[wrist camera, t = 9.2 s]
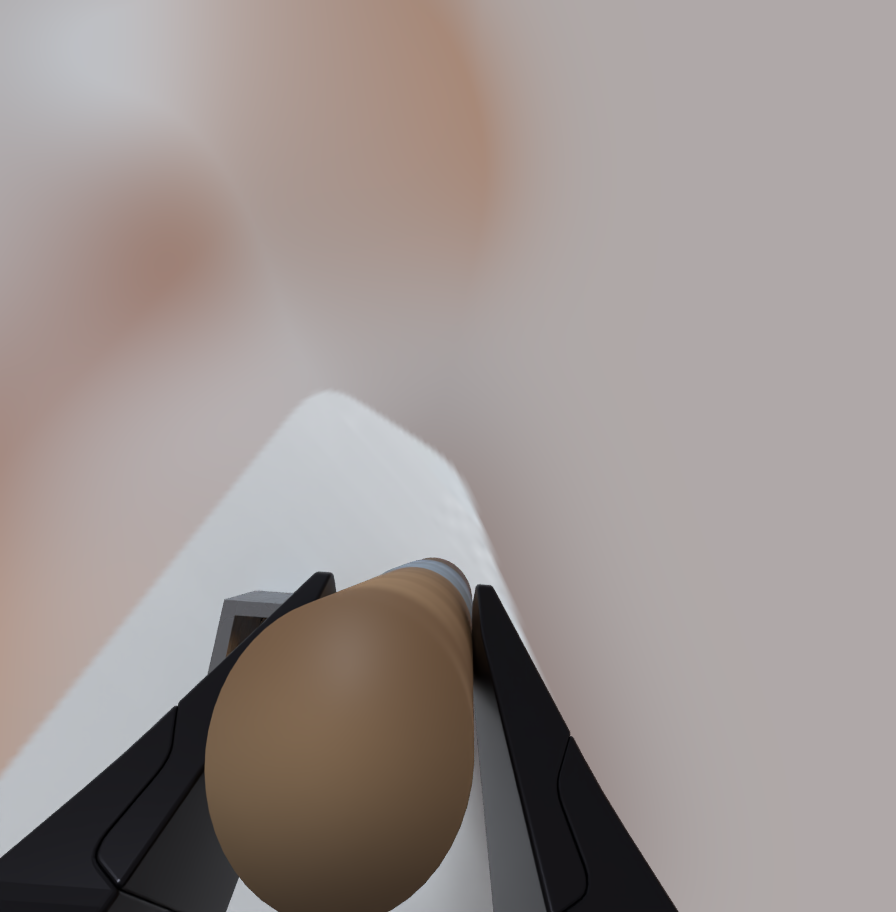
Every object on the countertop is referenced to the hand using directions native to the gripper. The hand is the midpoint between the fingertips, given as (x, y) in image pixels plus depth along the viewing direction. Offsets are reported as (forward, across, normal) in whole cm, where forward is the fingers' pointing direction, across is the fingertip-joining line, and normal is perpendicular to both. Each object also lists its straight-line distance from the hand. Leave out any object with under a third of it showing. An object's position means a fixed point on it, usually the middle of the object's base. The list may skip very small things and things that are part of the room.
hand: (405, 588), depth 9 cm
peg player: (+4, -1, +6) cm, 7 cm away
